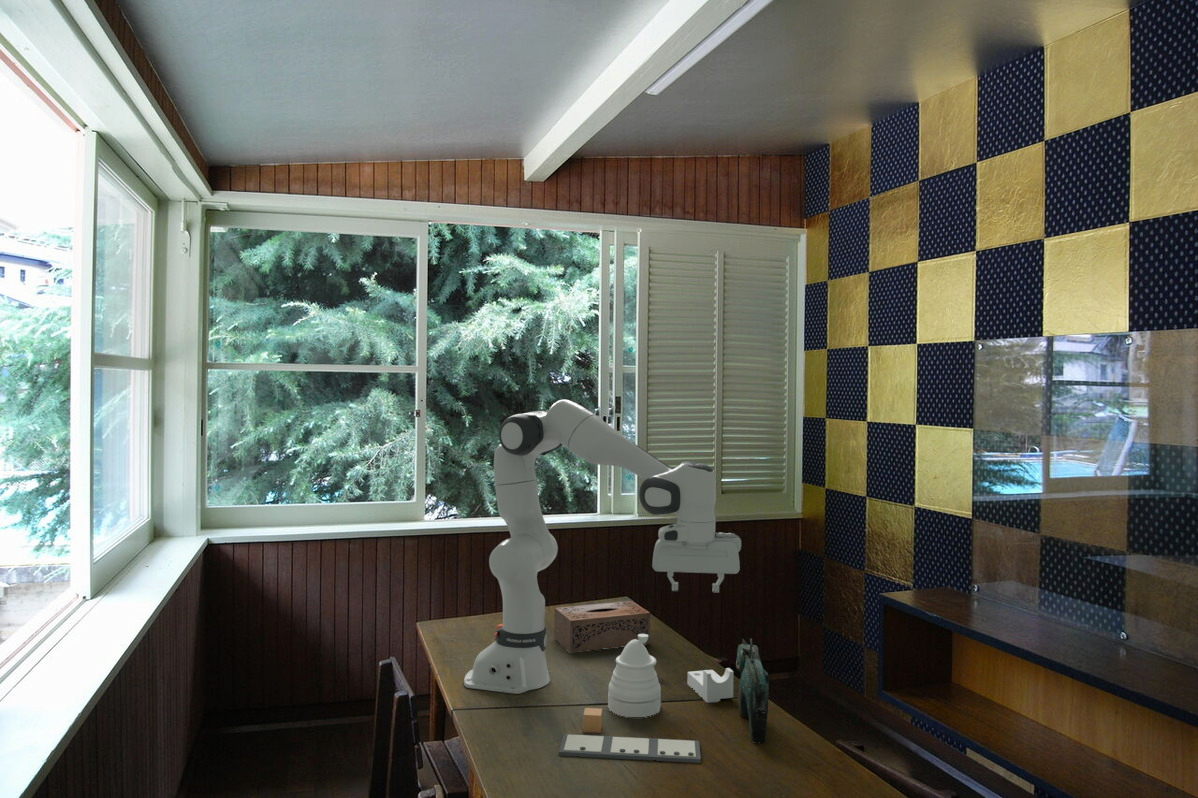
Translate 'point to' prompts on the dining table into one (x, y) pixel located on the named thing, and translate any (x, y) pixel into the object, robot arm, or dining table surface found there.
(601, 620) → the tissue box cover
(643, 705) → the honey pot
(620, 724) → the dining table surface
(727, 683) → the bracket
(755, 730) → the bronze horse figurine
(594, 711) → the block
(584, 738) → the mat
